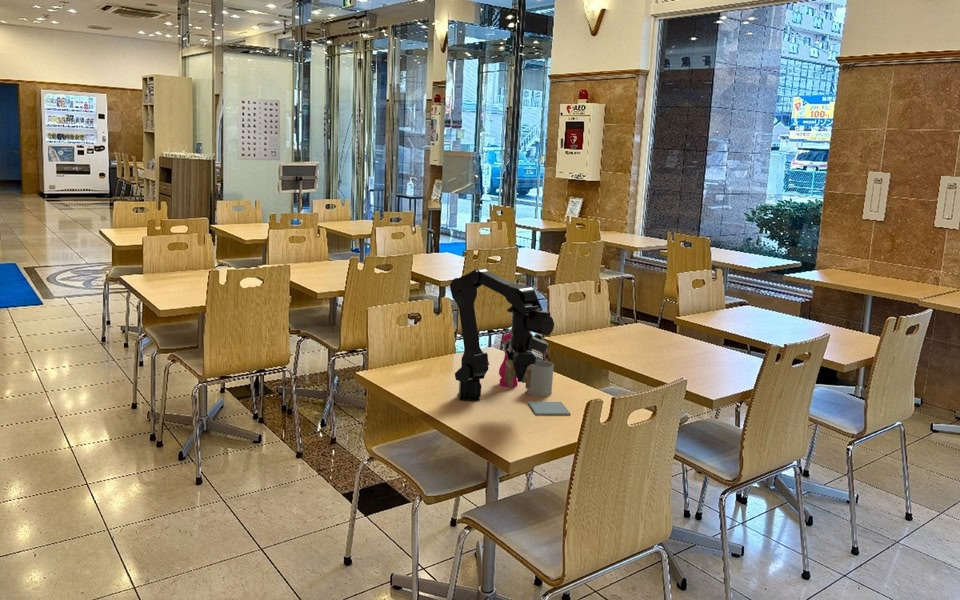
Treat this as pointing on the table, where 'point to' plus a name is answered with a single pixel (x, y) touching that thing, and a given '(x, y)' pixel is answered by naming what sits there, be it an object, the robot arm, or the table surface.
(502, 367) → the pepper mill
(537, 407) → the mat
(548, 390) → the cup
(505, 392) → the table surface
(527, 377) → the stool
